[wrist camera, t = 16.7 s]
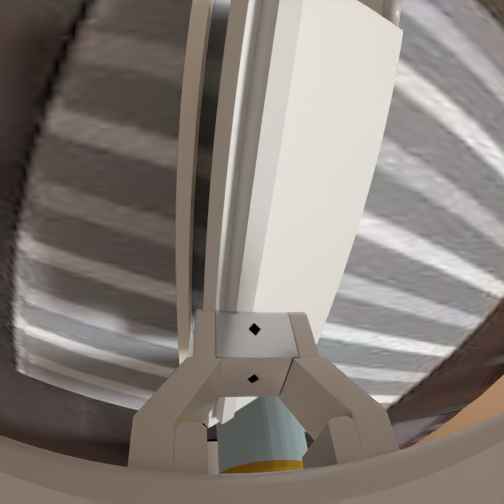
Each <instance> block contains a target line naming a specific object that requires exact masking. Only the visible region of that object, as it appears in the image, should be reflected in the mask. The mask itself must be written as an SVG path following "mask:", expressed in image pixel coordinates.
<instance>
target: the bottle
mask: <svg viewBox="0 0 504 504" xmlns="http://www.w3.org/2000/svg"><path fill="white" fill-rule="evenodd" d="M217 445H218V468H219V474H240V473H264V472H278V471H289V470H299V469H303V463H302V457H303V455H304V454H305V453H306V452H307V450H308V449H307V444H306V439H305V434H304V429H303V426H302V425H301V424H300V423H299V422H298V420H297V419H296V418H295V417H294V416H293V414H292V413H291V412H290V411H289V410H288V408H287V407H286V406H285V405H284V403H283V402H282V401H281V400H280V399H279V397H257V398H256V399H254V400H253V401H251V402H250V403H248V404H247V405H245V406H243V407H242V408H240V409H239V410H237V411H236V412H235V413H234V417H233V418H232V419H230V420H228V421H227V422H225V423H224V424H221V423H220V422H218V423H217Z"/></svg>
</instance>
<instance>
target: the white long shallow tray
mask: <svg viewBox="0 0 504 504" xmlns="http://www.w3.org/2000/svg"><path fill="white" fill-rule="evenodd" d="M357 1H359V2H361V3H362V4H364V5H366V6H367V7H369V8H370V9H372V10H373V11H375V12H376V13H378V14H379V15H381V16H382V17H384V18H385V19H387V20H388V21H390V22H391V23H393V24H394V25H395V26H397V27H398V26H399V19H400V11H401V3H402V0H357ZM213 5H214V0H193V1H192V8H191V15H190V22H189V30H188V38H187V46H186V55H185V64H184V74H183V85H182V97H181V109H180V123H179V140H178V159H177V185H176V303H177V328H178V348H179V364H181V363H182V362H183V361H184V360H185V359H186V358H187V357H193V350H194V332H192V254H193V225H194V203H195V185H196V169H197V154H198V140H199V128H200V116H201V105H202V95H203V85H204V76H205V67H206V58H207V50H208V42H209V34H210V26H211V19H212V12H213Z"/></svg>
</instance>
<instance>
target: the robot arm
mask: <svg viewBox="0 0 504 504" xmlns="http://www.w3.org/2000/svg"><path fill="white" fill-rule="evenodd" d="M219 397H279V399H280V400H281V401H282V402H283V403H284V405H285V406H286V407H287V408H288V410H289V411H290V412H291V413H292V414H293V416H294V417H295V418H296V419H297V420H298V422H299V423H300V424H301V425H302V426H303V427H304V429H305V430H306V431H307V432H308V433H309V435H310V436H311V437H312V438H313V439H314V440H315V441H314V443H313V444H312V445H311V447H310V448H309V449H308V450H307V452H306V453H305V454H304V455H303V457H302V463H303V469H299V470H289V471H278V472H264V473H240V474H219V468H218V445H217V441H214V442H207V428H206V427H205V426H203V425H202V423H203V422H204V420H205V419H206V417H207V416H208V414H209V413H210V411H211V410H212V408H213V407H214V405H215V404H216V402H217V401H218V399H219ZM0 504H504V413H501V414H499V415H497V416H495V417H493V418H491V419H488V420H486V421H484V422H482V423H479V424H477V425H474V426H472V427H469V428H467V429H464V430H461V431H459V432H456V433H453V434H451V435H448V436H445V437H442V438H439V439H436V440H433V441H430V442H427V443H424V444H421V445H417V446H414V447H410V448H407V449H403V450H400V449H399V446H398V443H397V441H396V438H395V435H394V432H393V429H392V426H391V423H390V420H389V418H388V415H387V412H386V409H385V408H384V407H383V406H381V405H380V404H379V403H378V402H377V401H375V400H374V399H373V398H372V397H371V396H369V395H368V394H367V393H366V392H365V391H364V390H362V389H361V388H360V387H359V386H358V385H357V384H355V383H354V382H353V381H352V380H351V379H350V378H348V377H347V376H346V375H345V374H344V373H343V372H341V371H340V370H339V369H338V368H337V367H336V366H334V365H333V364H332V363H331V362H330V361H329V360H328V359H326V358H325V357H319V353H318V350H317V347H316V343H315V340H314V337H313V333H312V330H311V327H310V323H309V320H308V317H307V314H306V313H305V312H287V313H286V312H241V311H224V310H204V309H196V313H195V329H194V350H193V357H187V358H186V359H185V360H184V361H183V362H182V363H181V364H180V366H179V367H178V368H177V369H176V370H175V371H174V372H173V373H172V374H171V376H170V377H169V378H168V379H167V380H166V381H165V382H164V383H163V384H162V386H161V387H160V388H159V389H158V390H157V391H156V392H155V393H154V394H153V395H152V397H151V398H150V399H149V400H148V401H147V402H146V403H145V404H144V405H143V406H142V408H141V409H140V410H139V411H138V412H137V413H136V414H135V415H134V417H133V424H132V432H131V440H130V449H129V458H128V467H123V466H117V465H110V464H105V463H99V462H94V461H89V460H84V459H80V458H75V457H71V456H67V455H63V454H59V453H55V452H51V451H48V450H44V449H40V448H37V447H34V446H31V445H27V444H24V443H21V442H18V441H15V440H12V439H9V438H7V437H4V436H1V435H0Z"/></svg>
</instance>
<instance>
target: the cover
mask: <svg viewBox="0 0 504 504" xmlns="http://www.w3.org/2000/svg"><path fill="white" fill-rule="evenodd" d="M402 35H403V31H402V30H401V29H400V28H398V27H397V26H395V25H394V24H393V23H391V22H390V21H388V20H387V19H385V18H384V17H382V16H381V15H379V14H378V13H376V12H375V11H373V10H372V9H370V8H369V7H367V6H366V5H364V4H362V3H361V2H359V1H357V0H231V4H230V11H229V18H228V25H227V32H226V40H225V47H224V55H223V63H222V71H221V80H220V89H219V97H218V107H217V116H216V126H215V137H214V147H213V158H212V170H211V182H210V195H209V209H208V224H207V240H206V257H205V276H204V298H203V309H204V310H224V311H241V312H286V313H287V312H305V313H306V314H307V317H308V320H309V323H310V327H311V330H312V333H313V337H314V340H315V343H316V345H317V342H318V340H319V337H320V335H321V332H322V329H323V327H324V324H325V322H326V319H327V316H328V314H329V311H330V308H331V306H332V303H333V300H334V297H335V295H336V292H337V289H338V286H339V283H340V280H341V278H342V275H343V272H344V269H345V266H346V263H347V260H348V257H349V254H350V251H351V248H352V245H353V241H354V238H355V235H356V232H357V229H358V225H359V222H360V219H361V216H362V212H363V209H364V205H365V202H366V198H367V195H368V191H369V188H370V184H371V180H372V177H373V173H374V169H375V165H376V162H377V158H378V154H379V150H380V146H381V142H382V137H383V133H384V129H385V125H386V120H387V116H388V111H389V106H390V102H391V97H392V92H393V87H394V82H395V77H396V71H397V66H398V60H399V54H400V48H401V42H402ZM256 398H257V397H219V399H218V401H217V402H216V404H215V405H214V407H213V408H212V410H211V411H210V413H209V414H208V416H207V417H206V419H205V420H204V423H205V424H206V426H207V427H208V428H209V427H211V426H213V425H214V424H216V423H218V422H220V423H221V424H224V423H225V422H227V421H228V420H230V419H232V418H233V417H234V413H235V412H236V411H237V410H239V409H240V408H242V407H243V406H245V405H247V404H248V403H250V402H251V401H253V400H254V399H256Z"/></svg>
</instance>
